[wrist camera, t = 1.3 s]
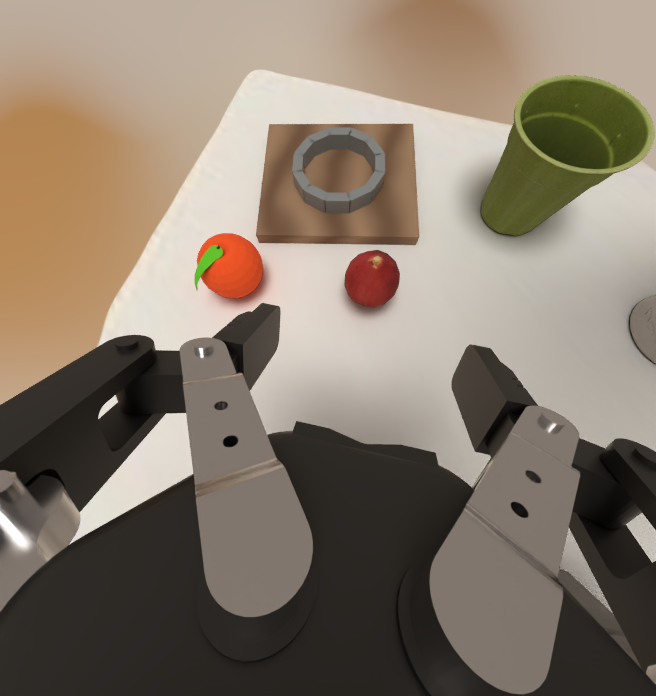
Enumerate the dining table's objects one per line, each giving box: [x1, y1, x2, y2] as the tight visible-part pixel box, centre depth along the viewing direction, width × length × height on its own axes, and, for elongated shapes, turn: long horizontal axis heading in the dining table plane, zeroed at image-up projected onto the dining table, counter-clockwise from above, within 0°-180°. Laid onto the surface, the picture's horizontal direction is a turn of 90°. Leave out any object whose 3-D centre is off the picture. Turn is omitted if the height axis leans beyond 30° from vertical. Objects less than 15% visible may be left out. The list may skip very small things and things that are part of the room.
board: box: [256, 124, 419, 245], centre depth 36 cm, size 20×18×2 cm
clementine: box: [195, 233, 263, 298], centre depth 30 cm, size 8×7×7 cm
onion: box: [345, 250, 400, 307], centre depth 29 cm, size 6×6×8 cm
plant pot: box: [481, 75, 654, 236], centre depth 30 cm, size 12×12×11 cm
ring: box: [292, 127, 385, 213], centre depth 35 cm, size 11×11×2 cm
